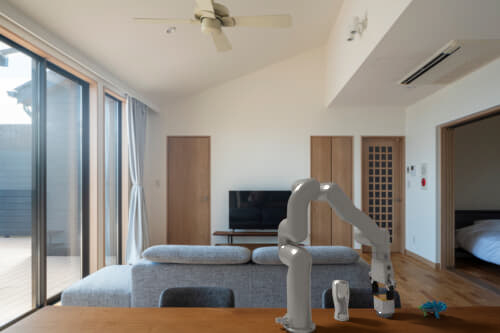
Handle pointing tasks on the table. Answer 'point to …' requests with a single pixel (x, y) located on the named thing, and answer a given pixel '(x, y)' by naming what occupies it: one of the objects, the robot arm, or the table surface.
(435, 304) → the blue lumpy figure
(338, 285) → the beer glass
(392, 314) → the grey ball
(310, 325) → the robot arm
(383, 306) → the wooden tan cube
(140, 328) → the table surface
